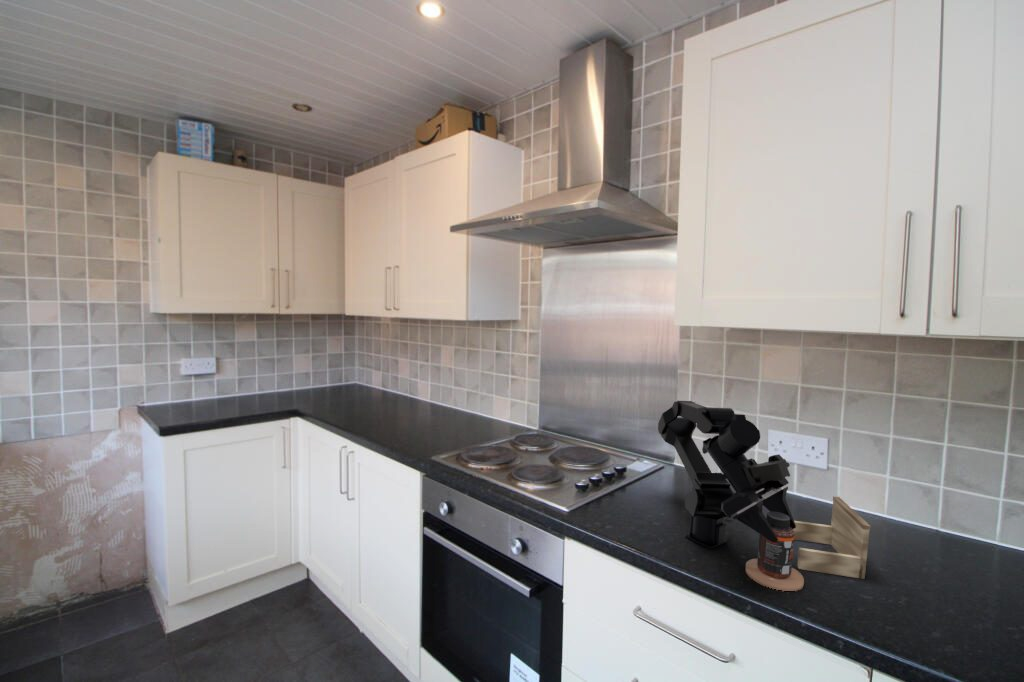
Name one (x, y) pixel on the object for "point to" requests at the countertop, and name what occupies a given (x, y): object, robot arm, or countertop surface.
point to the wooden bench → (836, 543)
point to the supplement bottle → (777, 547)
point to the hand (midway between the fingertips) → (785, 534)
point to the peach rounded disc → (785, 584)
